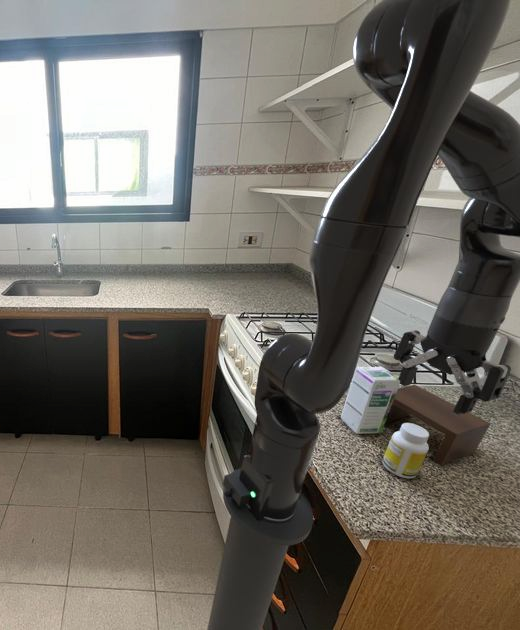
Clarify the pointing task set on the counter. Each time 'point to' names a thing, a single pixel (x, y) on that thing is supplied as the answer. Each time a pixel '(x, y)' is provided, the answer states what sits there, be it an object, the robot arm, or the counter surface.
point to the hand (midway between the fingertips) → (430, 397)
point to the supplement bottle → (406, 450)
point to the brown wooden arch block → (440, 422)
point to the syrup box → (369, 399)
